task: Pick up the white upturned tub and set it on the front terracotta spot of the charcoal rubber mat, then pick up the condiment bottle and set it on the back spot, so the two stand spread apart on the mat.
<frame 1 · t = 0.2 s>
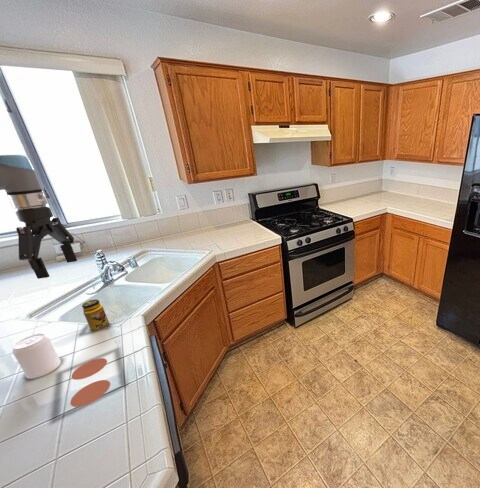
hand: (59, 269, 89), 31 cm above the countertop, tool pointing down, fingers open, 13 cm apart
white upturned tub: (45, 370, 87), on the countertop
condiment: (98, 328, 108), on the countertop
mat: (91, 381, 81), on the countertop
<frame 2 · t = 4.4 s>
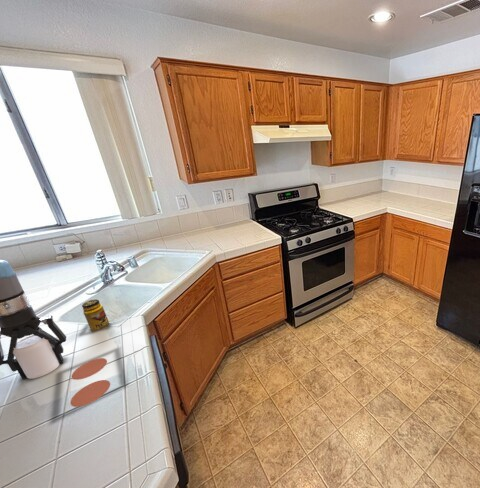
hand: (43, 368, 87), 1 cm above the countertop, tool pointing down, fingers closed on white upturned tub, 8 cm apart
white upturned tub: (45, 370, 87), on the countertop, touching gripper
everything else where it was.
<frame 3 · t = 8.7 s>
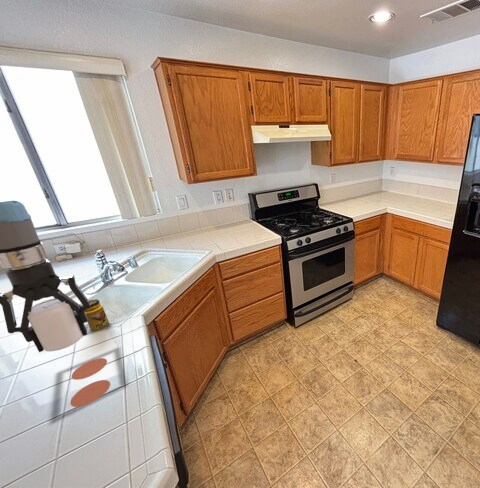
hand: (64, 340, 71), 19 cm above the countertop, tool pointing down, fingers closed on white upturned tub, 8 cm apart
white upturned tub: (65, 343, 71), point 18 cm above the countertop, touching gripper
everything else where it was.
when the fingers open (1 cm above the countertop, at t = 13.0 s): white upturned tub stays where it is, resting on mat.
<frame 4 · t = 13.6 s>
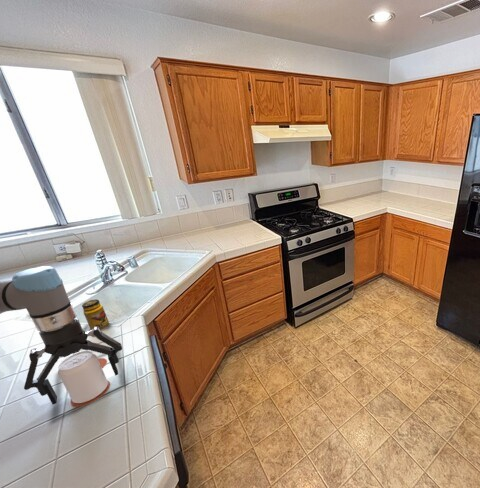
hand: (87, 385, 75), 3 cm above the countertop, tool pointing down, fingers open, 13 cm apart
white upturned tub: (91, 392, 76), point 1 cm above the countertop, touching mat
everything else where it was.
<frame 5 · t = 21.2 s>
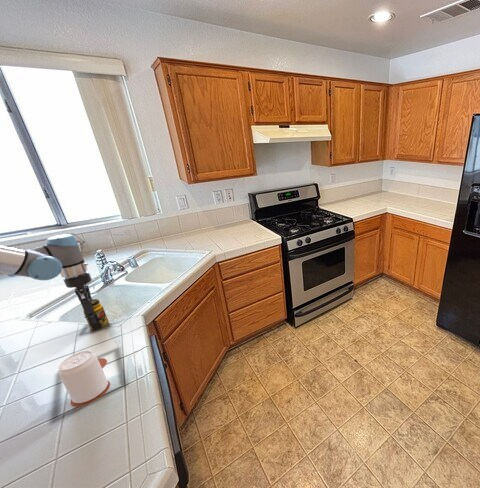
hand: (97, 325, 108), 1 cm above the countertop, tool pointing down, fingers closed on condiment, 6 cm apart
condiment: (98, 328, 108), on the countertop, touching gripper
everything else where it was.
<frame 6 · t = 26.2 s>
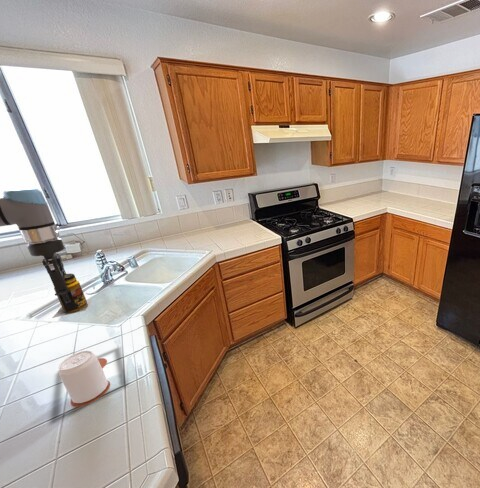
hand: (71, 306, 87), 20 cm above the countertop, tool pointing down, fingers closed on condiment, 6 cm apart
condiment: (73, 309, 88), point 18 cm above the countertop, touching gripper
everything else where it was.
when the fingers open (2 cm above the countertop, at t = 31.3 s): condiment stays where it is, resting on mat.
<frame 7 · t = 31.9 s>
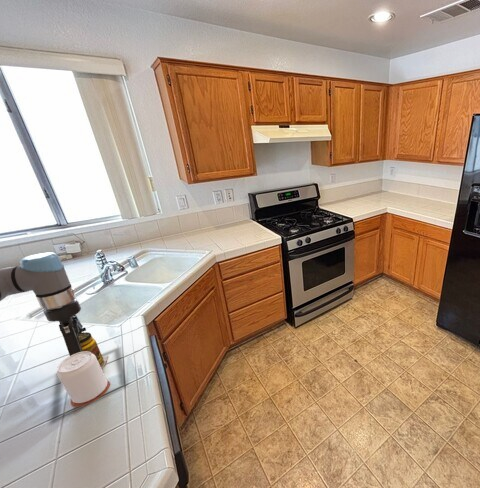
hand: (86, 360, 85), 4 cm above the countertop, tool pointing down, fingers open, 13 cm apart
condiment: (90, 368, 86), point 1 cm above the countertop, touching mat
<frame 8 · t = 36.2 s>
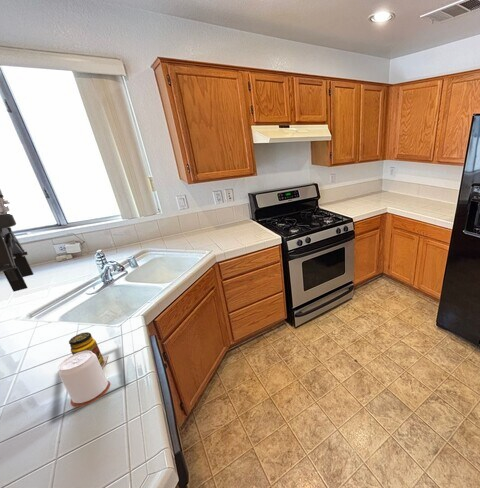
hand: (24, 282, 80), 31 cm above the countertop, tool pointing down, fingers open, 13 cm apart
at the end: white upturned tub inside the target area on the mat (0.1 cm from its centre), point 0.5 cm above the mat's base; condiment inside the target area on the mat (0.4 cm from its centre), point 0.5 cm above the mat's base; condiment tilted 0° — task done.
